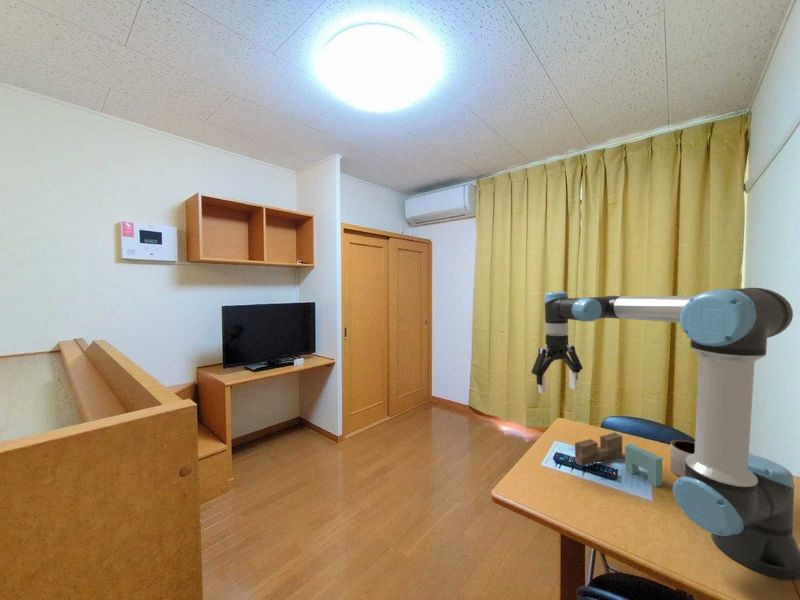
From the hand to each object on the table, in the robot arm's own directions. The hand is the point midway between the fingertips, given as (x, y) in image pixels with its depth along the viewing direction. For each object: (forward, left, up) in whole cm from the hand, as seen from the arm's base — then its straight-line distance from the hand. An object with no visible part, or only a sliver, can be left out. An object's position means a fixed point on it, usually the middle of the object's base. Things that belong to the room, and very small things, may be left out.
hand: (557, 391), depth 118 cm
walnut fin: (-5, -14, -27) cm, 31 cm away
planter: (-23, -34, -27) cm, 49 cm away
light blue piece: (-18, -18, -27) cm, 37 cm away
